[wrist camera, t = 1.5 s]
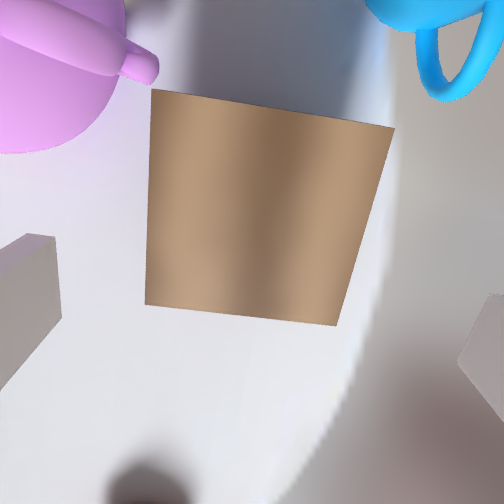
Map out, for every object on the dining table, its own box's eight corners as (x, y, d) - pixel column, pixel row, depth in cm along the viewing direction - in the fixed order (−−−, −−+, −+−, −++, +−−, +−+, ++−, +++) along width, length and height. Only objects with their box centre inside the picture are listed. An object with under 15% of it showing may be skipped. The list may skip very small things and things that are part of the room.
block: (156, 279, 22) (144, 304, 19) (165, 90, 18) (151, 88, 15) (325, 299, 23) (336, 326, 20) (372, 124, 19) (394, 128, 16)
